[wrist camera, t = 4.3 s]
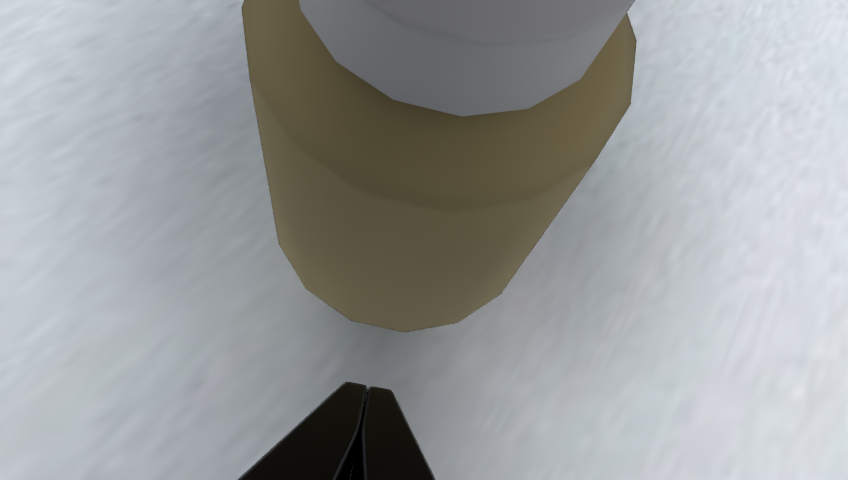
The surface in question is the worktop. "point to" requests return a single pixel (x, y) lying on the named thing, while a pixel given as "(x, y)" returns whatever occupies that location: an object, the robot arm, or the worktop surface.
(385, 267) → the squeeze bottle
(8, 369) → the worktop surface
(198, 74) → the worktop surface
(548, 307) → the worktop surface
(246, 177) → the worktop surface
